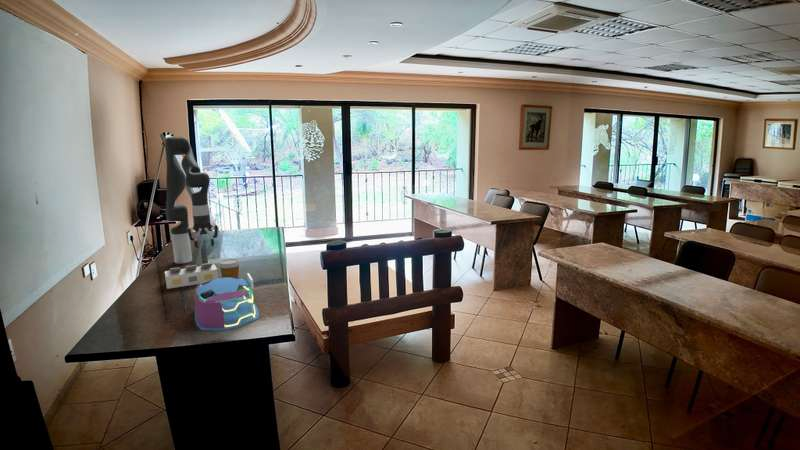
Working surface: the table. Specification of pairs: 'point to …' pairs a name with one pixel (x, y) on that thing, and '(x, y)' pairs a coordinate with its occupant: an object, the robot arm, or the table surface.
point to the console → (190, 276)
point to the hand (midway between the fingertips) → (204, 247)
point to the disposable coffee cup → (229, 268)
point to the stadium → (224, 304)
